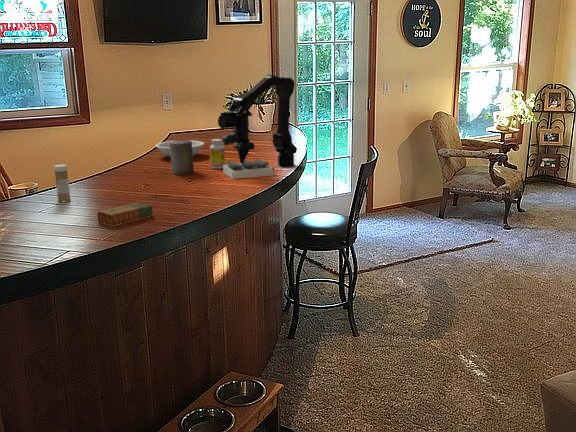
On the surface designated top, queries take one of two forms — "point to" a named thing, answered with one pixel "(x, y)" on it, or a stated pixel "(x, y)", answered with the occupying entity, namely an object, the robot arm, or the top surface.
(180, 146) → the pillar candle
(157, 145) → the soup bowl
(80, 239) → the top surface
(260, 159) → the rocker
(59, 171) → the sprinkles bottle
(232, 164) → the rocker
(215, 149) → the supplement bottle
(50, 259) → the top surface
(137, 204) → the carton
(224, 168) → the light switch panel
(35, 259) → the top surface
